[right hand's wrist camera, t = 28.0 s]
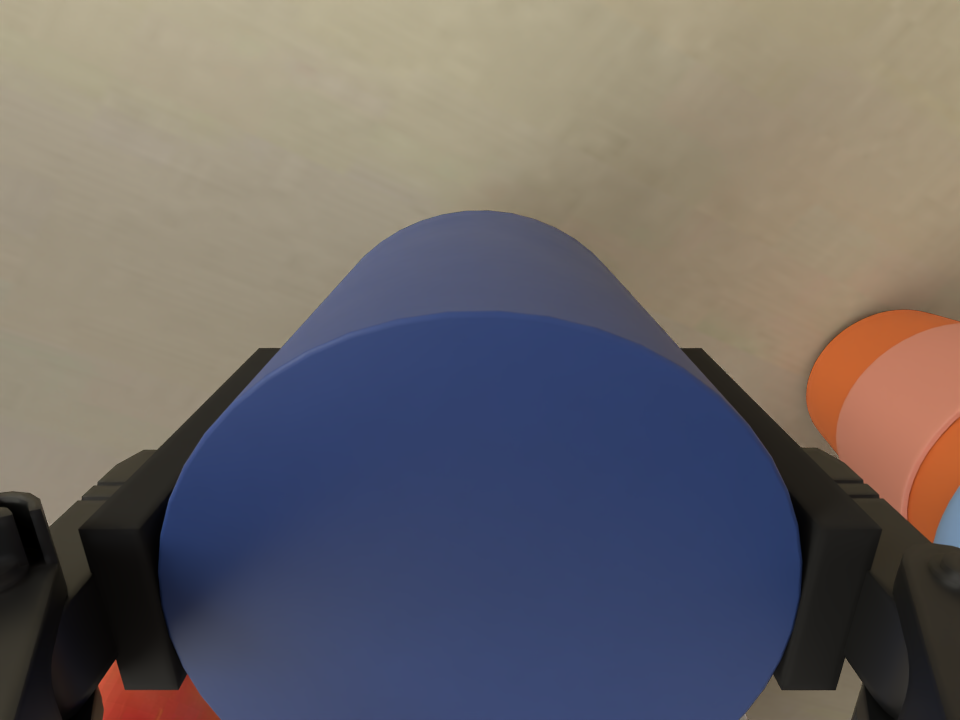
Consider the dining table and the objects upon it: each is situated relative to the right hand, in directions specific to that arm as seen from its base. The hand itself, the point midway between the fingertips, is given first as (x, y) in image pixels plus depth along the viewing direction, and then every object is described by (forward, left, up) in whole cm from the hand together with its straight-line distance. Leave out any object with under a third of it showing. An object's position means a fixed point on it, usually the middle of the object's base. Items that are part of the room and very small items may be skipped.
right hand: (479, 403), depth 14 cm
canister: (0, 0, -2) cm, 2 cm away
